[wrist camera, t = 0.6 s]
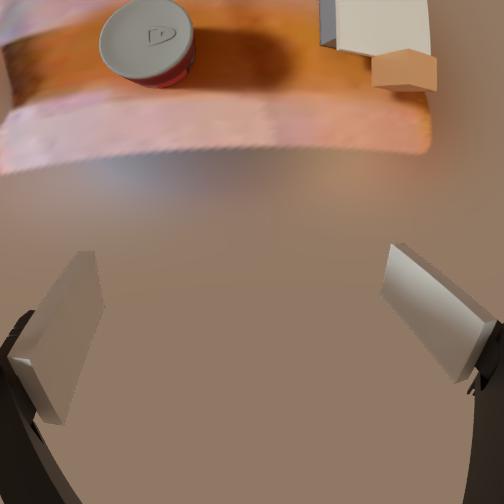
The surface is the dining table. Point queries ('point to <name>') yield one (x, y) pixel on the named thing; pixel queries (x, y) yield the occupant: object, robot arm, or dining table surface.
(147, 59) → the canned food
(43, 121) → the dining table surface
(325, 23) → the tub
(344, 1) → the lid
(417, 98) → the dining table surface
